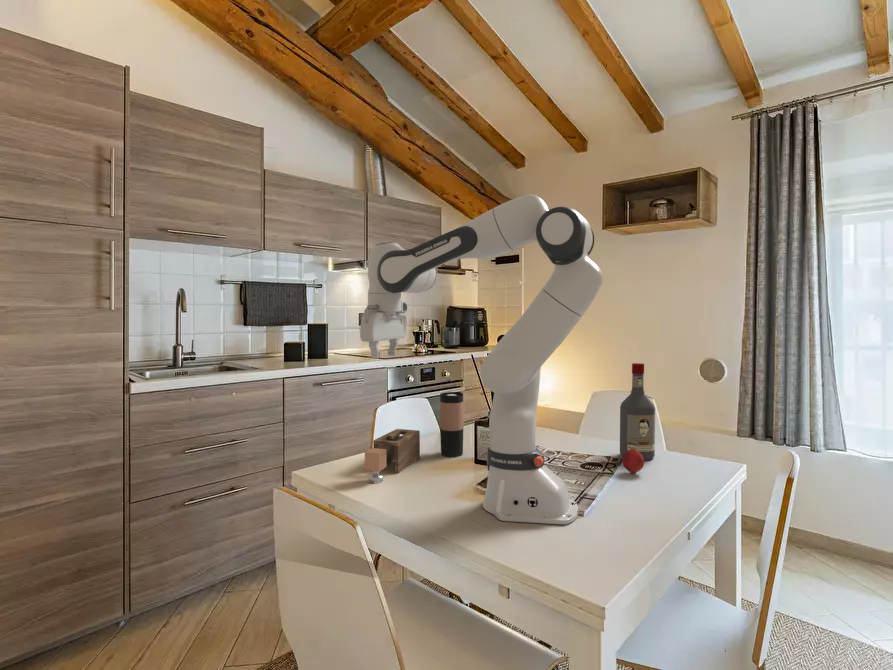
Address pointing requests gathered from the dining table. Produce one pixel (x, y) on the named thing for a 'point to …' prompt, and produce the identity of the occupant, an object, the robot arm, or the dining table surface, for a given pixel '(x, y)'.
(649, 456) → the liquor
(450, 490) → the dining table surface
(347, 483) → the dining table surface
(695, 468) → the dining table surface
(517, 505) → the robot arm
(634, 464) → the onion
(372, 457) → the keyed peg
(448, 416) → the travel mug
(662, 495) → the dining table surface
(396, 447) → the dark wooden box
